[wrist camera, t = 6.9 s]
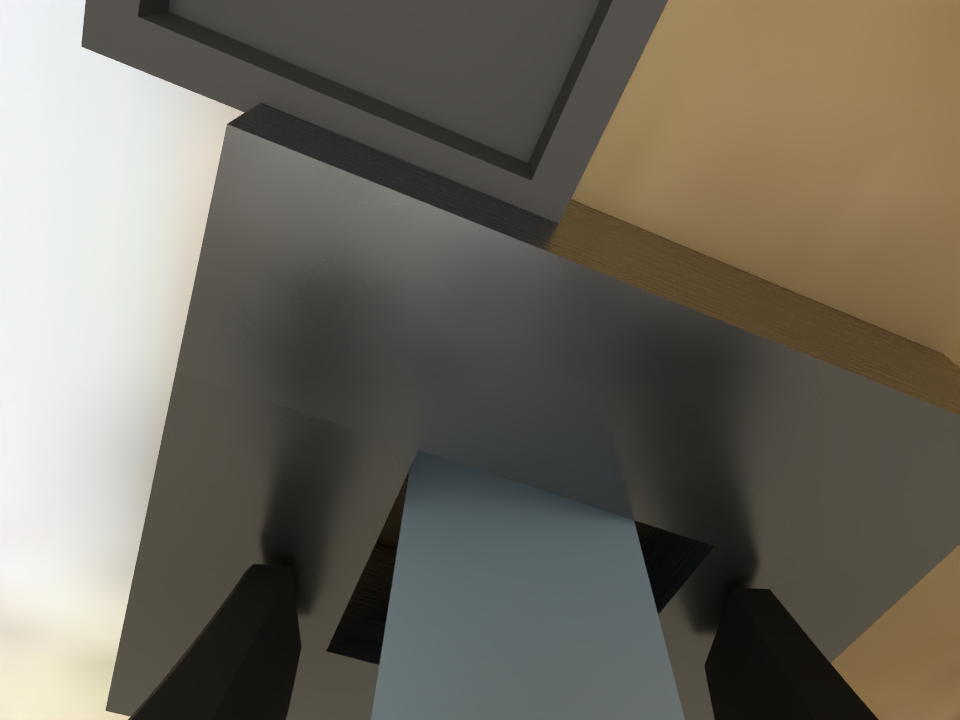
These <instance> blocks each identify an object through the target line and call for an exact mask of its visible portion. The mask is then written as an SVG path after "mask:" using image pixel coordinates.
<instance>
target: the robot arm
mask: <svg viewBox="0 0 960 720" xmlns="http://www.w3.org/2000/svg"><path fill="white" fill-rule="evenodd" d="M301 647H302V646H301V639H300V631H299V623H298V615H297V607H296V599H295V591H294V583H293V575H292V567H291V566H284V565H264V564H253V565H252V566H250V567H249V568H248V569H247V570H246V572H245V573H244V574H243V576H242V577H241V579H240V580H239V582H238V583H237V584H236V586H235V587H234V589H233V590H232V591H231V593H230V594H229V596H228V597H227V598H226V600H225V601H224V602H223V604H222V605H221V606H220V608H219V609H218V610H217V612H216V613H215V614H214V616H213V617H212V618H211V620H210V621H209V622H208V624H207V625H206V626H205V628H204V629H203V630H202V631H201V633H200V634H199V635H198V637H197V638H196V639H195V641H194V642H193V643H192V644H191V646H190V647H189V648H188V649H187V650H186V652H185V653H184V654H183V655H182V657H181V658H180V659H179V660H178V662H177V663H176V664H175V665H174V666H173V668H172V669H171V670H170V671H169V673H168V674H167V675H166V676H165V678H164V679H163V680H162V681H161V682H160V684H159V685H158V686H157V687H156V688H155V690H154V691H153V692H152V693H151V694H150V695H149V697H148V698H147V699H146V700H145V701H144V702H143V703H142V705H141V706H140V707H139V708H138V709H137V710H136V711H135V712H134V714H133V715H132V716H131V717H130V718H129V719H128V720H286V717H287V714H288V710H289V705H290V701H291V696H292V692H293V687H294V682H295V677H296V672H297V667H298V662H299V657H300V652H301ZM704 667H705V672H706V678H707V683H708V689H709V694H710V699H711V704H712V709H713V714H714V719H715V720H878V718H877V717H876V716H875V715H874V714H873V713H872V712H871V710H870V709H869V708H868V707H867V706H866V705H865V703H864V702H863V701H862V700H861V699H860V698H859V697H858V695H857V694H856V693H855V692H854V691H853V690H852V688H851V687H850V686H849V685H848V684H847V683H846V681H845V680H844V679H843V678H842V677H841V675H840V674H839V673H838V672H837V671H836V669H835V668H834V667H833V666H832V665H831V663H830V662H829V661H828V660H827V659H826V657H825V656H824V655H823V654H822V652H821V651H820V650H819V649H818V648H817V646H816V645H815V644H814V643H813V641H812V640H811V639H810V638H809V637H808V635H807V634H806V633H805V632H804V630H803V629H802V628H801V627H800V625H799V624H798V623H797V622H796V621H795V619H794V618H793V617H792V616H791V614H790V613H789V612H788V611H787V609H786V608H785V607H784V606H783V605H782V603H781V602H780V601H779V600H778V599H777V597H776V596H775V595H774V594H773V593H772V591H771V590H770V589H758V588H737V587H733V588H732V590H731V593H730V596H729V599H728V601H727V604H726V607H725V610H724V612H723V615H722V618H721V621H720V624H719V626H718V629H717V632H716V635H715V637H714V640H713V643H712V646H711V648H710V651H709V654H708V657H707V660H706V662H705V665H704Z"/></svg>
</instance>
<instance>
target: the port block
mask: <svg viewBox="0 0 960 720" xmlns="http://www.w3.org/2000/svg"><path fill="white" fill-rule="evenodd" d="M418 450H420V451H423V452H426V453H429V454H432V455H435V456H438V457H441V458H444V459H448V460H451V461H454V462H457V463H460V464H463V465H466V466H469V467H472V468H475V469H478V470H481V471H484V472H488V473H491V474H494V475H497V476H500V477H503V478H506V479H509V480H512V481H515V482H518V483H521V484H524V485H527V486H531V487H534V488H537V489H540V490H543V491H546V492H549V493H552V494H555V495H558V496H561V497H564V498H567V499H571V500H574V501H577V502H580V503H583V504H586V505H589V506H592V507H595V508H598V509H601V510H604V511H607V512H610V513H614V514H617V515H620V516H623V517H626V518H629V519H632V520H634V523H635V526H636V530H637V534H638V538H639V542H640V546H641V550H642V554H643V558H644V562H645V566H646V570H647V573H648V577H649V581H650V585H651V589H652V593H653V597H654V601H655V605H656V609H657V613H658V616H659V620H660V624H661V628H662V632H663V636H664V640H665V644H666V648H667V652H668V656H669V660H670V663H671V667H672V671H673V675H674V679H675V683H676V687H677V691H678V695H679V699H680V703H681V706H682V710H683V714H684V718H685V720H715V719H714V714H713V709H712V704H711V699H710V694H709V689H708V683H707V678H706V672H705V667H704V665H705V662H706V660H707V657H708V654H709V651H710V648H711V646H712V643H713V640H714V637H715V635H716V632H717V629H718V626H719V624H720V621H721V618H722V615H723V612H724V610H725V607H726V604H727V601H728V599H729V596H730V593H731V590H732V588H733V587H737V588H758V589H770V590H771V591H772V593H773V594H774V595H775V596H776V597H777V599H778V600H779V601H780V602H781V603H782V605H783V606H784V607H785V608H786V609H787V611H788V612H789V613H790V614H791V616H792V617H793V618H794V619H795V621H796V622H797V623H798V624H799V625H800V627H801V628H802V629H803V630H804V632H805V633H806V634H807V635H808V637H809V638H810V639H811V640H812V641H813V643H814V644H815V645H816V646H817V648H818V649H819V650H820V651H821V652H822V654H823V655H824V656H825V657H826V659H827V660H828V661H829V662H830V663H831V662H832V661H833V660H834V659H835V658H836V657H837V656H838V655H839V654H841V653H842V652H843V651H844V650H845V649H846V648H847V647H848V646H849V645H850V644H851V643H853V642H854V641H855V640H856V639H857V638H858V637H859V636H860V635H861V634H862V633H863V632H864V631H866V630H867V629H868V628H869V627H870V626H871V625H872V624H873V623H874V622H875V621H876V620H877V619H879V618H880V617H881V616H882V615H883V614H884V613H885V612H886V611H887V610H888V609H889V608H891V607H892V606H893V605H894V604H895V603H896V602H897V601H898V600H899V599H900V598H901V597H902V596H904V595H905V594H906V593H907V592H908V591H909V590H910V589H911V588H912V587H913V586H914V585H916V584H917V583H918V582H919V581H920V580H921V579H922V578H923V577H924V576H925V575H926V574H927V573H929V572H930V571H931V570H932V569H933V568H934V567H935V566H936V565H937V564H938V563H939V562H941V561H942V560H943V559H944V558H945V557H946V556H947V555H948V554H949V553H950V552H951V551H952V550H954V549H955V548H956V547H957V546H958V545H959V544H960V368H959V367H958V366H956V365H955V364H954V363H953V362H952V361H951V360H950V359H948V358H947V357H946V356H945V355H943V354H941V353H938V352H936V351H933V350H931V349H928V348H926V347H924V346H921V345H919V344H916V343H914V342H912V341H909V340H907V339H904V338H902V337H900V336H897V335H895V334H892V333H890V332H888V331H885V330H883V329H880V328H878V327H876V326H873V325H871V324H868V323H866V322H864V321H861V320H859V319H856V318H854V317H852V316H849V315H847V314H844V313H842V312H840V311H837V310H835V309H832V308H830V307H827V306H825V305H823V304H820V303H818V302H815V301H813V300H811V299H808V298H806V297H803V296H801V295H799V294H796V293H794V292H791V291H789V290H787V289H784V288H782V287H779V286H777V285H775V284H772V283H770V282H767V281H765V280H763V279H760V278H758V277H755V276H753V275H751V274H748V273H746V272H743V271H741V270H739V269H736V268H734V267H731V266H729V265H726V264H724V263H722V262H719V261H717V260H714V259H712V258H710V257H707V256H705V255H702V254H700V253H698V252H695V251H693V250H690V249H688V248H686V247H683V246H681V245H678V244H676V243H674V242H671V241H669V240H666V239H664V238H662V237H659V236H657V235H654V234H652V233H650V232H647V231H645V230H642V229H640V228H638V227H635V226H633V225H630V224H628V223H625V222H623V221H621V220H618V219H616V218H613V217H611V216H609V215H606V214H604V213H601V212H599V211H597V210H594V209H592V208H589V207H587V206H585V205H582V204H580V203H577V202H575V201H573V200H570V202H569V204H568V206H567V208H566V210H565V212H564V214H563V216H562V218H561V220H560V222H559V223H556V222H554V221H551V220H549V219H546V218H544V217H541V216H539V215H537V214H534V213H532V212H529V211H527V210H524V209H522V208H519V207H517V206H514V205H512V204H510V203H507V202H505V201H502V200H500V199H497V198H495V197H492V196H490V195H487V194H485V193H483V192H480V191H478V190H475V189H473V188H470V187H468V186H465V185H463V184H460V183H458V182H455V181H453V180H451V179H448V178H446V177H443V176H441V175H438V174H436V173H433V172H431V171H428V170H426V169H424V168H421V167H419V166H416V165H414V164H411V163H409V162H406V161H404V160H401V159H399V158H397V157H394V156H392V155H389V154H387V153H384V152H382V151H379V150H377V149H374V148H372V147H370V146H367V145H365V144H362V143H360V142H357V141H355V140H352V139H350V138H347V137H345V136H343V135H340V134H338V133H335V132H333V131H330V130H328V129H325V128H323V127H320V126H318V125H316V124H313V123H311V122H308V121H306V120H303V119H301V118H298V117H296V116H293V115H291V114H288V113H286V112H284V111H281V110H279V109H276V108H274V107H271V106H269V105H266V104H264V103H260V104H258V105H256V106H255V107H253V108H252V109H250V110H249V111H247V112H245V113H244V114H242V115H241V116H239V117H238V118H236V119H234V120H233V121H231V122H230V123H228V124H227V127H226V132H225V137H224V142H223V147H222V151H221V156H220V161H219V166H218V171H217V176H216V180H215V185H214V190H213V195H212V200H211V204H210V209H209V214H208V219H207V224H206V229H205V233H204V238H203V243H202V248H201V253H200V258H199V262H198V267H197V272H196V277H195V282H194V286H193V291H192V296H191V301H190V306H189V311H188V315H187V320H186V325H185V330H184V335H183V340H182V344H181V349H180V354H179V359H178V364H177V368H176V373H175V378H174V383H173V388H172V393H171V397H170V402H169V407H168V412H167V417H166V421H165V426H164V431H163V436H162V441H161V446H160V450H159V455H158V460H157V465H156V470H155V475H154V479H153V484H152V489H151V494H150V499H149V503H148V508H147V513H146V518H145V523H144V528H143V532H142V537H141V542H140V547H139V552H138V557H137V561H136V566H135V571H134V576H133V581H132V585H131V590H130V595H129V600H128V605H127V610H126V614H125V619H124V624H123V629H122V634H121V638H120V643H119V648H118V653H117V658H116V663H115V667H114V672H113V677H112V682H111V687H110V692H109V696H108V701H107V706H106V711H109V712H113V713H118V714H122V715H126V716H132V715H133V714H134V712H135V711H136V710H137V709H138V708H139V707H140V706H141V705H142V703H143V702H144V701H145V700H146V699H147V698H148V697H149V695H150V694H151V693H152V692H153V691H154V690H155V688H156V687H157V686H158V685H159V684H160V682H161V681H162V680H163V679H164V678H165V676H166V675H167V674H168V673H169V671H170V670H171V669H172V668H173V666H174V665H175V664H176V663H177V662H178V660H179V659H180V658H181V657H182V655H183V654H184V653H185V652H186V650H187V649H188V648H189V647H190V646H191V644H192V643H193V642H194V641H195V639H196V638H197V637H198V635H199V634H200V633H201V631H202V630H203V629H204V628H205V626H206V625H207V624H208V622H209V621H210V620H211V618H212V617H213V616H214V614H215V613H216V612H217V610H218V609H219V608H220V606H221V605H222V604H223V602H224V601H225V600H226V598H227V597H228V596H229V594H230V593H231V591H232V590H233V589H234V587H235V586H236V584H237V583H238V582H239V580H240V579H241V577H242V576H243V574H244V573H245V572H246V570H247V569H248V568H249V567H250V566H252V565H253V564H264V565H284V566H291V567H292V575H293V583H294V591H295V599H296V607H297V615H298V623H299V631H300V639H301V646H302V647H301V652H300V657H299V662H298V667H297V672H296V677H295V682H294V687H293V692H292V696H291V701H290V705H289V710H288V714H287V717H286V720H371V715H372V709H373V703H374V696H375V690H376V683H377V677H378V670H379V664H380V658H381V651H382V645H383V638H384V632H385V625H386V619H387V613H388V606H389V600H390V593H391V587H392V580H393V574H394V568H395V561H396V555H397V550H395V549H392V548H389V547H385V546H382V545H378V544H376V542H377V539H378V537H379V535H380V533H381V531H382V528H383V526H384V524H385V522H386V520H387V518H388V515H389V513H390V511H391V509H392V507H393V505H394V502H395V500H396V498H397V496H398V494H399V492H400V489H401V487H402V485H403V483H404V481H405V478H406V476H407V474H408V472H409V470H410V468H411V465H412V463H413V461H414V459H415V457H416V455H417V452H418Z"/></svg>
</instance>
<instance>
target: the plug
mask: <svg viewBox="0 0 960 720" xmlns="http://www.w3.org/2000/svg"><path fill="white" fill-rule="evenodd" d="M371 720H685V718H684V714H683V710H682V706H681V703H680V699H679V695H678V691H677V687H676V683H675V679H674V675H673V671H672V667H671V663H670V660H669V656H668V652H667V648H666V644H665V640H664V636H663V632H662V628H661V624H660V620H659V616H658V613H657V609H656V605H655V601H654V597H653V593H652V589H651V585H650V581H649V577H648V573H647V570H646V566H645V562H644V558H643V554H642V550H641V546H640V542H639V538H638V534H637V530H636V526H635V523H634V520H632V519H629V518H626V517H623V516H620V515H617V514H614V513H610V512H607V511H604V510H601V509H598V508H595V507H592V506H589V505H586V504H583V503H580V502H577V501H574V500H571V499H567V498H564V497H561V496H558V495H555V494H552V493H549V492H546V491H543V490H540V489H537V488H534V487H531V486H527V485H524V484H521V483H518V482H515V481H512V480H509V479H506V478H503V477H500V476H497V475H494V474H491V473H488V472H484V471H481V470H478V469H475V468H472V467H469V466H466V465H463V464H460V463H457V462H454V461H451V460H448V459H444V458H441V457H438V456H435V455H432V454H429V453H426V452H423V451H420V450H418V452H417V455H416V457H415V459H414V461H413V463H412V465H411V468H410V471H409V478H408V484H407V490H406V497H405V503H404V510H403V516H402V523H401V529H400V535H399V542H398V548H397V555H396V561H395V568H394V574H393V580H392V587H391V593H390V600H389V606H388V613H387V619H386V625H385V632H384V638H383V645H382V651H381V658H380V664H379V670H378V677H377V683H376V690H375V696H374V703H373V709H372V715H371Z"/></svg>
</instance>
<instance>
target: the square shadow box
mask: <svg viewBox="0 0 960 720" xmlns="http://www.w3.org/2000/svg"><path fill="white" fill-rule="evenodd" d="M667 1H668V0H86V4H85V15H84V25H83V36H82V46H81V47H84V48H86V49H89V50H91V51H94V52H96V53H99V54H101V55H104V56H106V57H109V58H111V59H114V60H116V61H119V62H121V63H124V64H126V65H129V66H131V67H134V68H136V69H139V70H141V71H144V72H146V73H148V74H151V75H153V76H156V77H158V78H161V79H163V80H166V81H168V82H171V83H173V84H176V85H178V86H181V87H183V88H186V89H188V90H191V91H193V92H196V93H198V94H201V95H203V96H206V97H208V98H211V99H213V100H216V101H218V102H220V103H223V104H225V105H228V106H230V107H233V108H235V109H238V110H240V111H243V112H247V111H249V110H250V109H252V108H253V107H255V106H256V105H258V104H260V103H264V104H266V105H269V106H271V107H274V108H276V109H279V110H281V111H284V112H286V113H288V114H291V115H293V116H296V117H298V118H301V119H303V120H306V121H308V122H311V123H313V124H316V125H318V126H320V127H323V128H325V129H328V130H330V131H333V132H335V133H338V134H340V135H343V136H345V137H347V138H350V139H352V140H355V141H357V142H360V143H362V144H365V145H367V146H370V147H372V148H374V149H377V150H379V151H382V152H384V153H387V154H389V155H392V156H394V157H397V158H399V159H401V160H404V161H406V162H409V163H411V164H414V165H416V166H419V167H421V168H424V169H426V170H428V171H431V172H433V173H436V174H438V175H441V176H443V177H446V178H448V179H451V180H453V181H455V182H458V183H460V184H463V185H465V186H468V187H470V188H473V189H475V190H478V191H480V192H483V193H485V194H487V195H490V196H492V197H495V198H497V199H500V200H502V201H505V202H507V203H510V204H512V205H514V206H517V207H519V208H522V209H524V210H527V211H529V212H532V213H534V214H537V215H539V216H541V217H544V218H546V219H549V220H551V221H554V222H556V223H559V222H560V220H561V218H562V216H563V214H564V212H565V210H566V208H567V206H568V204H569V202H570V200H571V198H572V196H573V193H574V191H575V189H576V187H577V185H578V183H579V181H580V179H581V177H582V175H583V173H584V171H585V169H586V167H587V165H588V163H589V161H590V159H591V157H592V155H593V153H594V150H595V148H596V146H597V144H598V142H599V140H600V138H601V136H602V134H603V132H604V130H605V128H606V126H607V124H608V122H609V120H610V118H611V116H612V114H613V112H614V110H615V108H616V105H617V103H618V101H619V99H620V97H621V95H622V93H623V91H624V89H625V87H626V85H627V83H628V81H629V79H630V77H631V75H632V73H633V71H634V69H635V67H636V65H637V63H638V60H639V58H640V56H641V54H642V52H643V50H644V48H645V46H646V44H647V42H648V40H649V38H650V36H651V34H652V32H653V30H654V28H655V26H656V24H657V22H658V20H659V17H660V15H661V13H662V11H663V9H664V7H665V5H666V3H667Z"/></svg>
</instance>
